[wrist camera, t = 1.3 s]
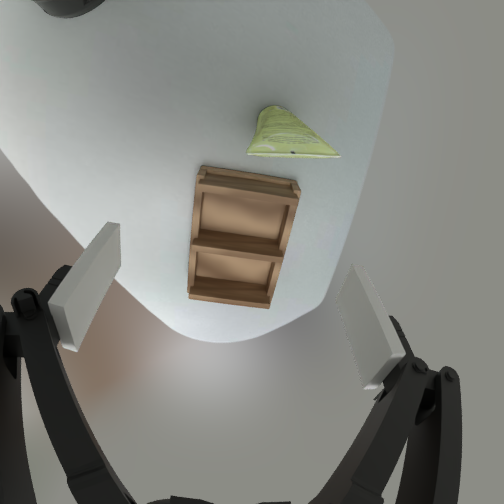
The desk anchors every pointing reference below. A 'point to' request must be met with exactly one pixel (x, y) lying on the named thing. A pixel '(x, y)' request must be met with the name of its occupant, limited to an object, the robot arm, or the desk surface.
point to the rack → (239, 235)
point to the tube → (286, 137)
